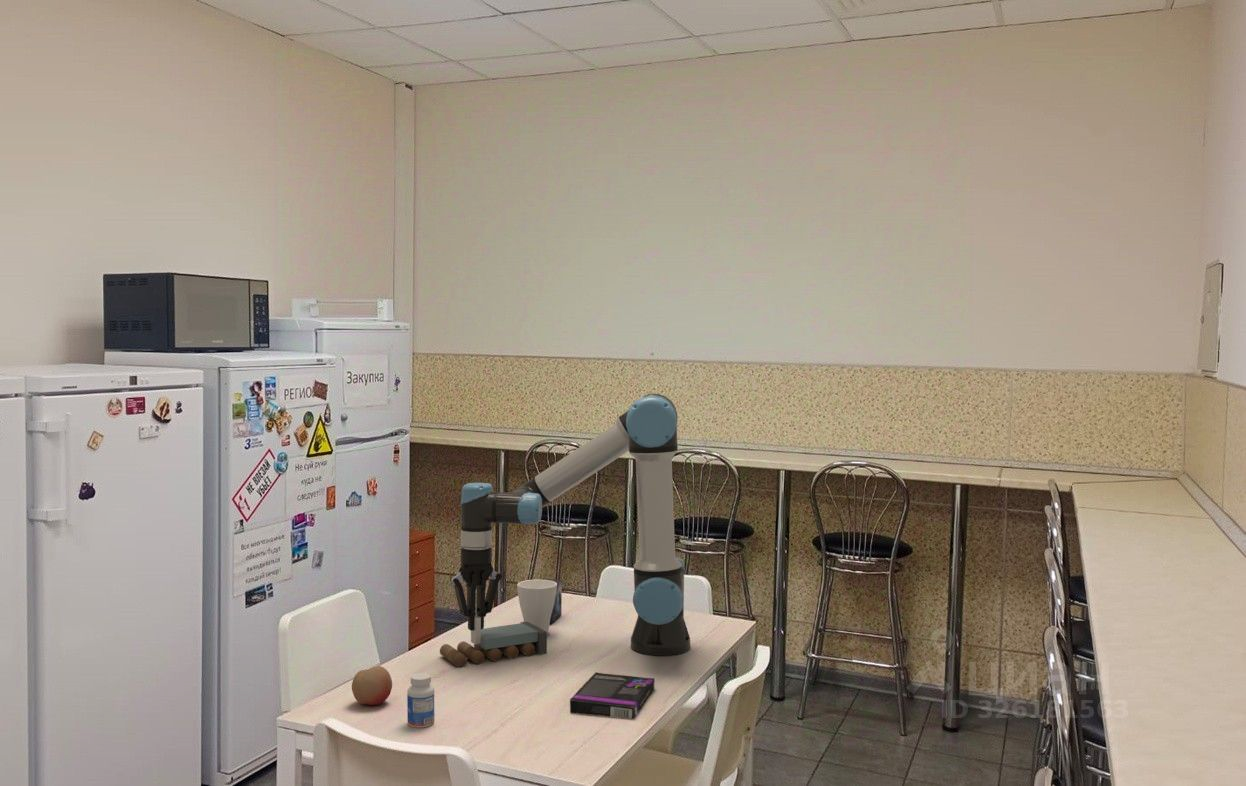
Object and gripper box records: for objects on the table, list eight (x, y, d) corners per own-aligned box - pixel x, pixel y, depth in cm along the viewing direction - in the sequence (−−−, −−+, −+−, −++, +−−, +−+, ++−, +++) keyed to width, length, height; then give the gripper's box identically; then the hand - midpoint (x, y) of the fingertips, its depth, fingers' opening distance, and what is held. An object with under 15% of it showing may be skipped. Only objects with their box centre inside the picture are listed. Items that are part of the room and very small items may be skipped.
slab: (537, 641, 256) (537, 631, 256) (485, 649, 249) (485, 639, 249) (522, 632, 264) (522, 623, 264) (470, 640, 257) (470, 630, 257)
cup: (509, 637, 271) (510, 586, 270) (528, 627, 280) (528, 578, 280) (545, 641, 267) (546, 590, 266) (563, 631, 277) (563, 581, 276)
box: (633, 723, 212) (655, 691, 231) (633, 707, 212) (655, 676, 231) (568, 715, 216) (595, 684, 235) (569, 699, 216) (596, 669, 234)
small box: (552, 625, 283) (553, 587, 282) (529, 624, 284) (530, 586, 284) (562, 615, 293) (563, 579, 293) (540, 614, 294) (540, 577, 294)
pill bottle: (409, 718, 211) (409, 671, 211) (435, 718, 212) (435, 671, 211) (405, 728, 206) (405, 680, 206) (433, 728, 206) (433, 680, 206)
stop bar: (546, 653, 257) (546, 631, 256) (539, 654, 256) (539, 632, 255) (527, 642, 266) (527, 621, 266) (520, 643, 265) (520, 622, 265)
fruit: (371, 695, 226) (371, 659, 225) (399, 702, 221) (399, 665, 221) (344, 706, 219) (344, 668, 218) (372, 713, 215) (372, 675, 214)
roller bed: (535, 654, 256) (535, 642, 255) (455, 668, 245) (455, 655, 245) (517, 644, 264) (517, 633, 264) (439, 657, 253) (439, 644, 253)
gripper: (494, 542, 258) (493, 635, 259) (445, 546, 251) (445, 642, 252) (507, 547, 252) (506, 642, 253) (457, 551, 245) (456, 650, 246)
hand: (475, 642), depth 252 cm, fingers closed
